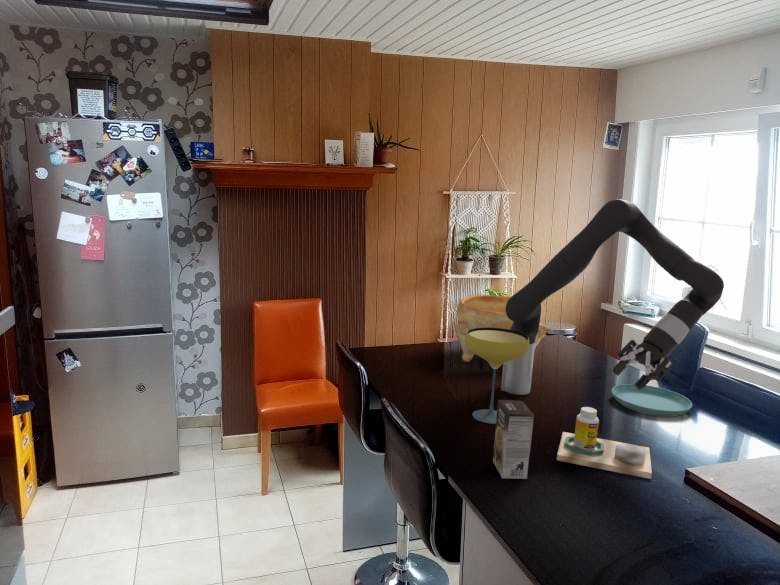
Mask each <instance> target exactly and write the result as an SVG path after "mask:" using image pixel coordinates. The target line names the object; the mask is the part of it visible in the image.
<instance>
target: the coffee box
mask: <svg viewBox="0 0 780 585" xmlns="http://www.w3.org/2000/svg"><path fill="white" fill-rule="evenodd" d="M496 411H497V418H496V424H495V430H494V431H495V432H494V440H493V442H494V443H493V444H494V445H493V457H492V462H493V465H494V466H495V468H496V470H497V472H498V474H499V475H500V477H501V479H514V480H515V479H518V480H519V479H521V480H526V479H528V471H529V463H530V453H531V448H532V447H531V445H532V435H533V429H534V428H533V426H534V418H535V417H534V416H535V414H534V413H533V412H532V411H531V410H530V408H529V407H528V406H527V405H526V403H525V402H524V400H513V399H498V400H497V409H496Z"/></svg>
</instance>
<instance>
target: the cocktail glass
mask: <svg viewBox="0 0 780 585" xmlns="http://www.w3.org/2000/svg"><path fill="white" fill-rule="evenodd" d="M466 345H467V347H468V348H469V349H470V350H471V351H472V352H473V353H475V354H474V355H476V356H478V357H480V358H481V359H483V360H485V361H487V363H488V364H489V366H490V368H492V369H493V373H492V385H491V386H492V387H491V395H490V403H489V409H488V408H487V409H486V408H484V409H478V410H474V411H473V412H472V418H474V420H475V421H478V422H481V423H484V424H488V425H489V424H490V425H496V418H497V409H496V410H495V409H494V395H495V384H496V375H497V374H496V372H497V370H498V369H499V368H501V366H503V364H504V363H505V362H507V361H510V360H513V359H516V358H519V357H521V356H522V355H524V354H525V353H526V352H527V351H528V349H529V337H528V336H527V335H525V334H523V333H521V332H517V331H513V330H509V329H502V328H474V329H471V330H469V331H468V332H467V334H466Z"/></svg>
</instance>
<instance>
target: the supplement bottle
mask: <svg viewBox="0 0 780 585" xmlns="http://www.w3.org/2000/svg"><path fill="white" fill-rule="evenodd" d="M579 412H580V413H579V414H577V415H576V420H575V429H574V434H575V436H574V445H575V446H576V447H577V448H579V449H584V450H593V449H595V447H596V441H597V438H598V433H599V432H598V431H599V425H600V420H599V417H598V416H597V415H598V414H597V413H598V410H597V409H596V408H593V407H591V406H583V407H582V406H581V408H580V411H579Z"/></svg>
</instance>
